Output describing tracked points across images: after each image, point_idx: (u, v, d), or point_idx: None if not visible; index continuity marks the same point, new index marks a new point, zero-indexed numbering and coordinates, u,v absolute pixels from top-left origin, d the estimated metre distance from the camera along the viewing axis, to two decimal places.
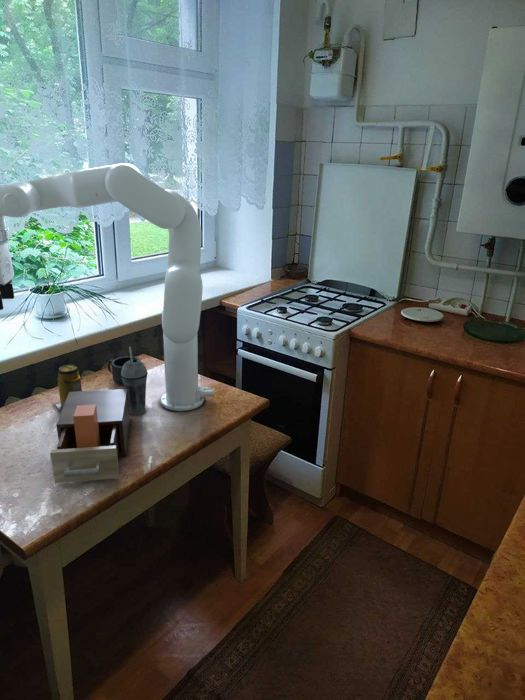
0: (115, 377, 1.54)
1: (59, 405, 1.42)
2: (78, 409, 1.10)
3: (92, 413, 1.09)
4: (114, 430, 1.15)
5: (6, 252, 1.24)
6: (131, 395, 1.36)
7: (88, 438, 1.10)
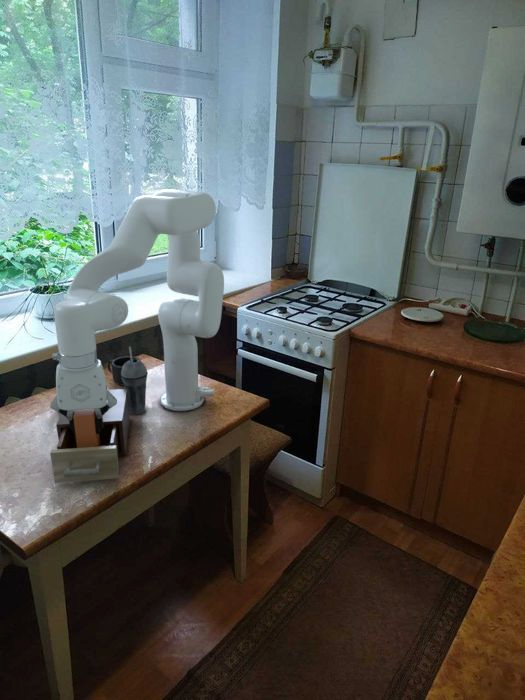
0: (115, 377, 1.54)
1: None
2: None
3: (92, 413, 1.09)
4: (114, 430, 1.15)
5: (81, 380, 1.05)
6: (131, 395, 1.36)
7: (88, 438, 1.10)
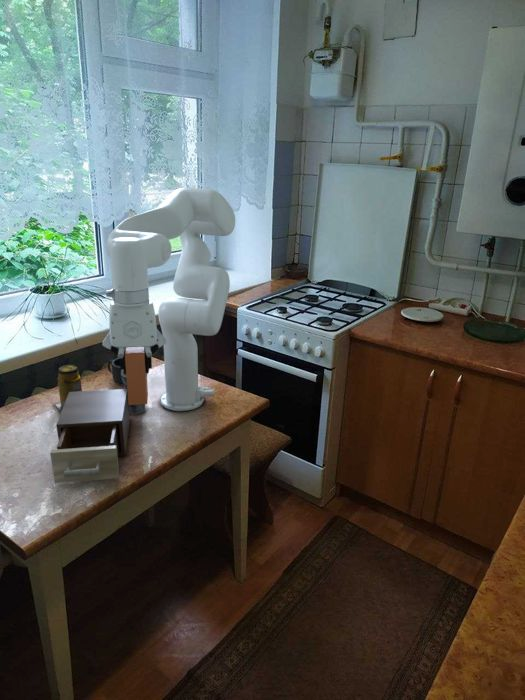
0: (115, 377, 1.54)
1: (59, 405, 1.42)
2: (128, 348, 1.13)
3: (142, 351, 1.12)
4: (114, 430, 1.15)
5: (134, 316, 1.07)
6: None
7: (138, 376, 1.13)
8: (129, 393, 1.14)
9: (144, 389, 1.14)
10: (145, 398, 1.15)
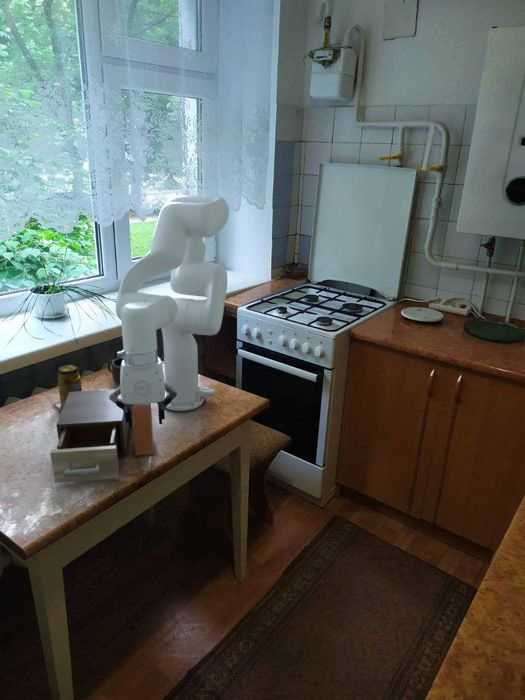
0: (115, 377, 1.54)
1: (59, 405, 1.42)
2: None
3: (149, 406, 1.17)
4: (114, 430, 1.15)
5: (144, 376, 1.13)
6: None
7: (145, 429, 1.18)
8: (136, 444, 1.20)
9: (150, 441, 1.20)
10: (151, 449, 1.21)
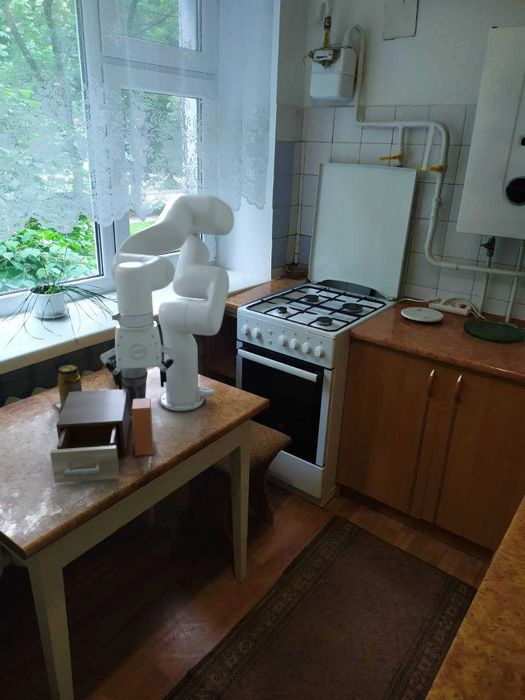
0: None
1: (59, 405, 1.42)
2: (135, 402, 1.19)
3: (149, 406, 1.17)
4: (114, 430, 1.15)
5: (140, 339, 1.10)
6: (131, 395, 1.36)
7: (145, 429, 1.18)
8: (136, 444, 1.20)
9: (150, 441, 1.20)
10: (151, 449, 1.21)
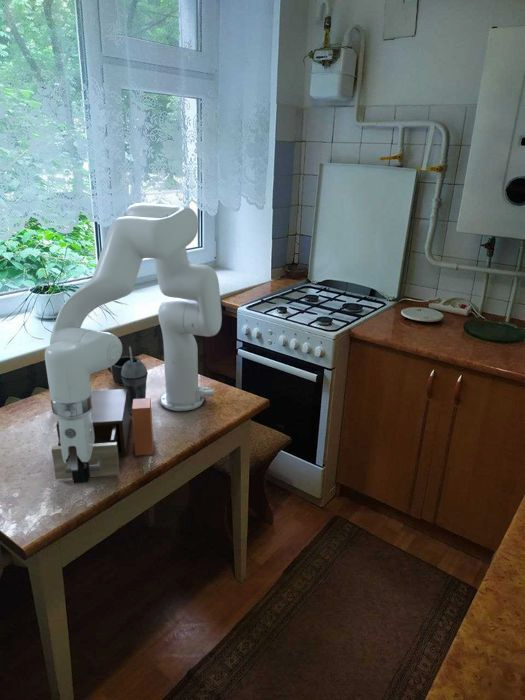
0: (115, 377, 1.54)
1: None
2: (135, 402, 1.19)
3: (149, 406, 1.17)
4: (115, 427, 1.16)
5: (89, 418, 1.00)
6: (131, 395, 1.36)
7: (145, 429, 1.18)
8: (136, 444, 1.20)
9: (150, 441, 1.20)
10: (151, 449, 1.21)
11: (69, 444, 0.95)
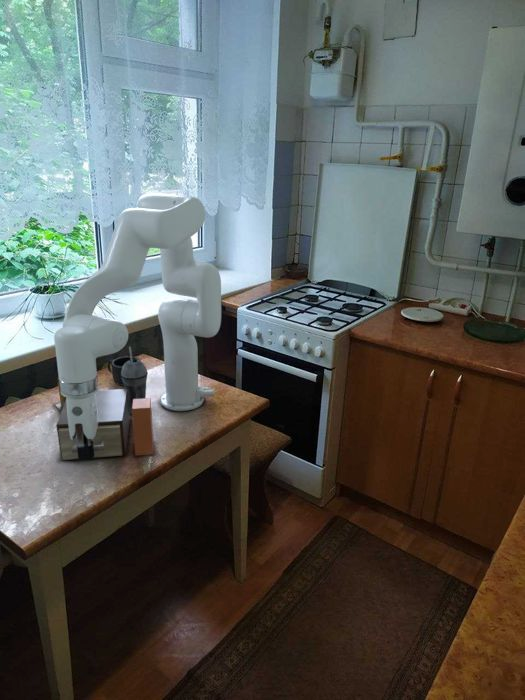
0: (115, 377, 1.54)
1: (59, 405, 1.42)
2: (135, 402, 1.19)
3: (149, 406, 1.17)
4: None
5: (94, 399, 1.07)
6: (131, 395, 1.36)
7: (145, 429, 1.18)
8: (136, 444, 1.20)
9: (150, 441, 1.20)
10: (151, 449, 1.21)
11: (76, 421, 1.02)
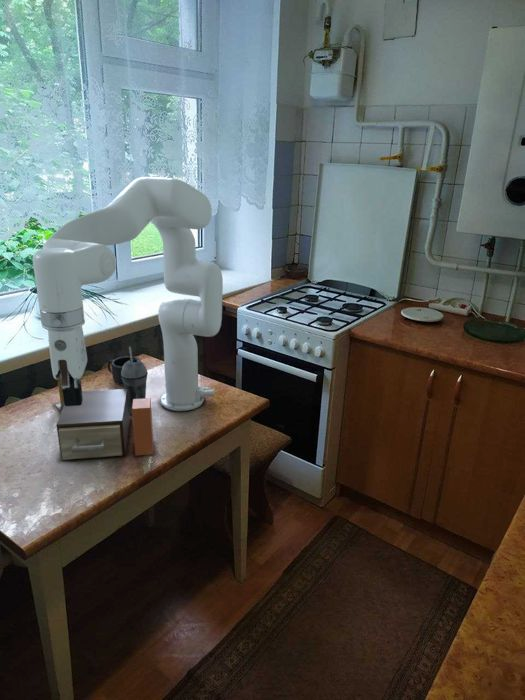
0: (115, 377, 1.54)
1: (59, 405, 1.42)
2: (135, 402, 1.19)
3: (149, 406, 1.17)
4: None
5: (81, 334, 0.94)
6: (131, 395, 1.36)
7: (145, 429, 1.18)
8: (136, 445, 1.20)
9: (150, 441, 1.20)
10: (151, 449, 1.21)
11: (59, 357, 0.89)
